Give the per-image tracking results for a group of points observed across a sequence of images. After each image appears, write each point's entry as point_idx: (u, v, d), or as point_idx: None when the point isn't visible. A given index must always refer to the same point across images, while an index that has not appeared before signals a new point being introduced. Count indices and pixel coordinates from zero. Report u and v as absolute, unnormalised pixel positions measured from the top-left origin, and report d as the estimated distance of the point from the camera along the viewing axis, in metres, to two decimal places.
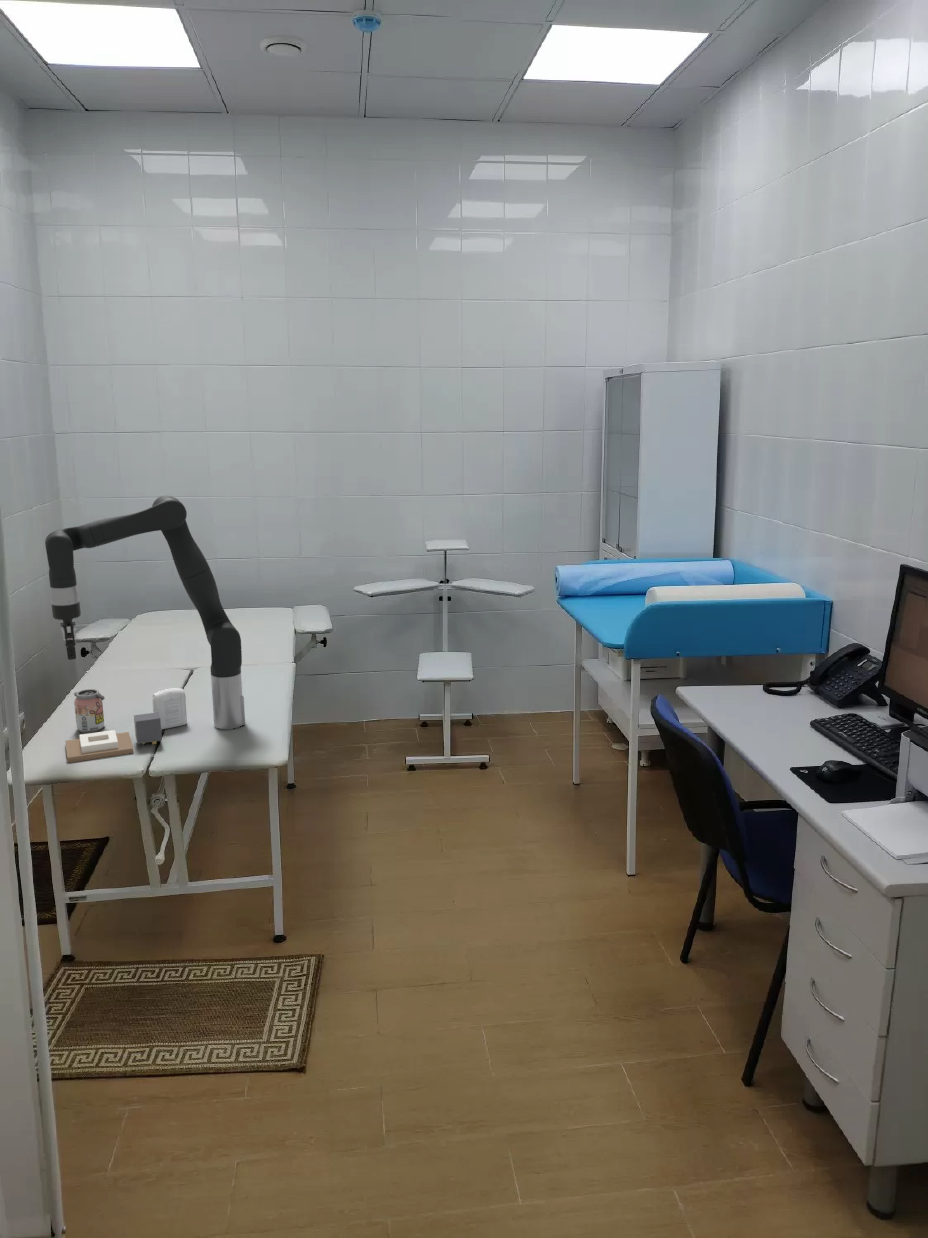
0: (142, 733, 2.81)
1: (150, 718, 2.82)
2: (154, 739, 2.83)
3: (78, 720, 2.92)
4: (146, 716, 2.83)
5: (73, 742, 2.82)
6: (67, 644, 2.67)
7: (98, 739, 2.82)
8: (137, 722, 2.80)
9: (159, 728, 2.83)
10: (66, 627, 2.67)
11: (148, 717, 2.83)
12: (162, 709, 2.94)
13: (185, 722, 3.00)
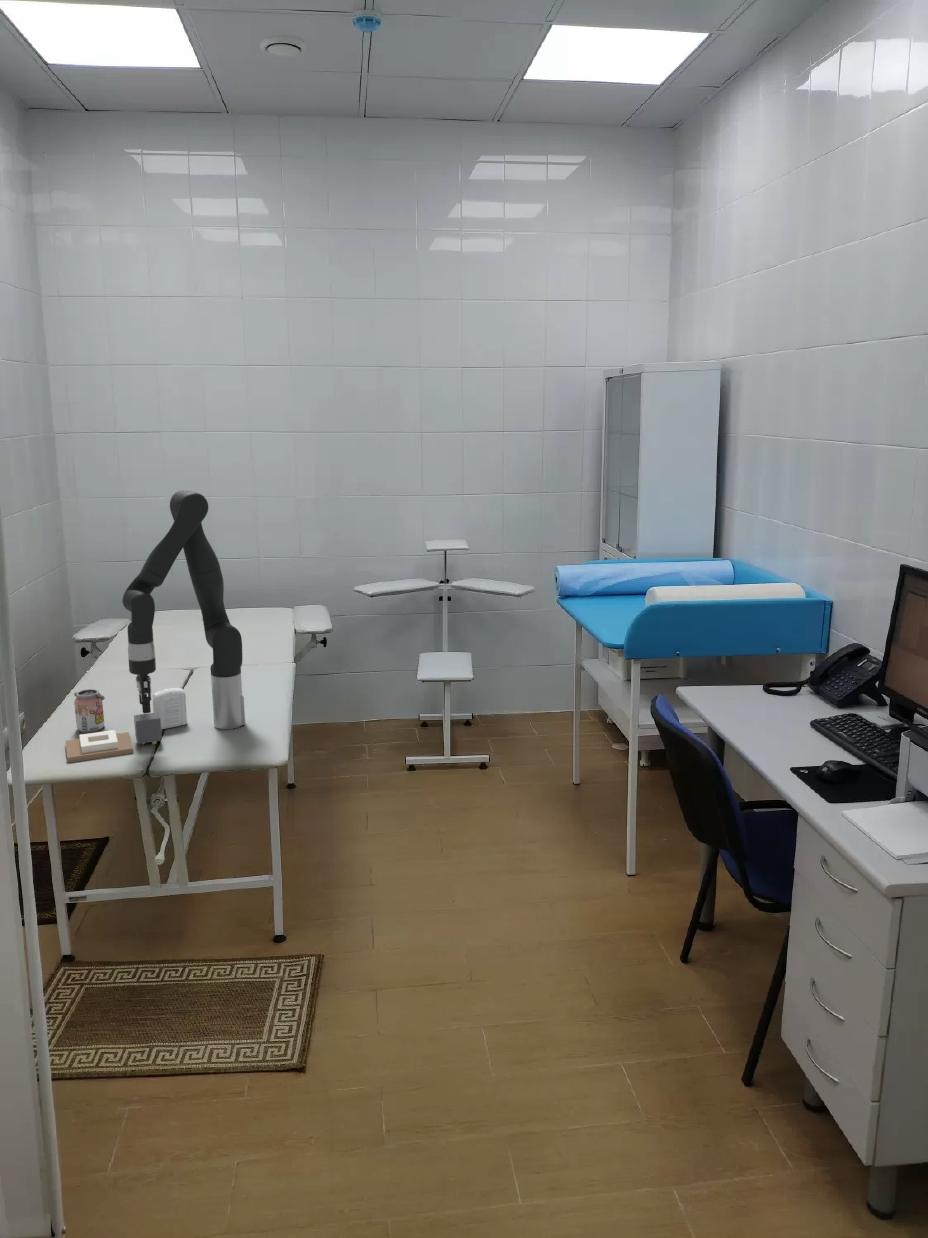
0: (142, 733, 2.81)
1: (150, 718, 2.82)
2: (154, 739, 2.83)
3: (78, 720, 2.92)
4: (146, 716, 2.83)
5: (73, 742, 2.82)
6: (143, 699, 2.74)
7: (98, 739, 2.82)
8: (137, 722, 2.80)
9: (159, 728, 2.83)
10: (143, 682, 2.74)
11: (148, 717, 2.83)
12: (162, 709, 2.94)
13: (185, 722, 3.00)
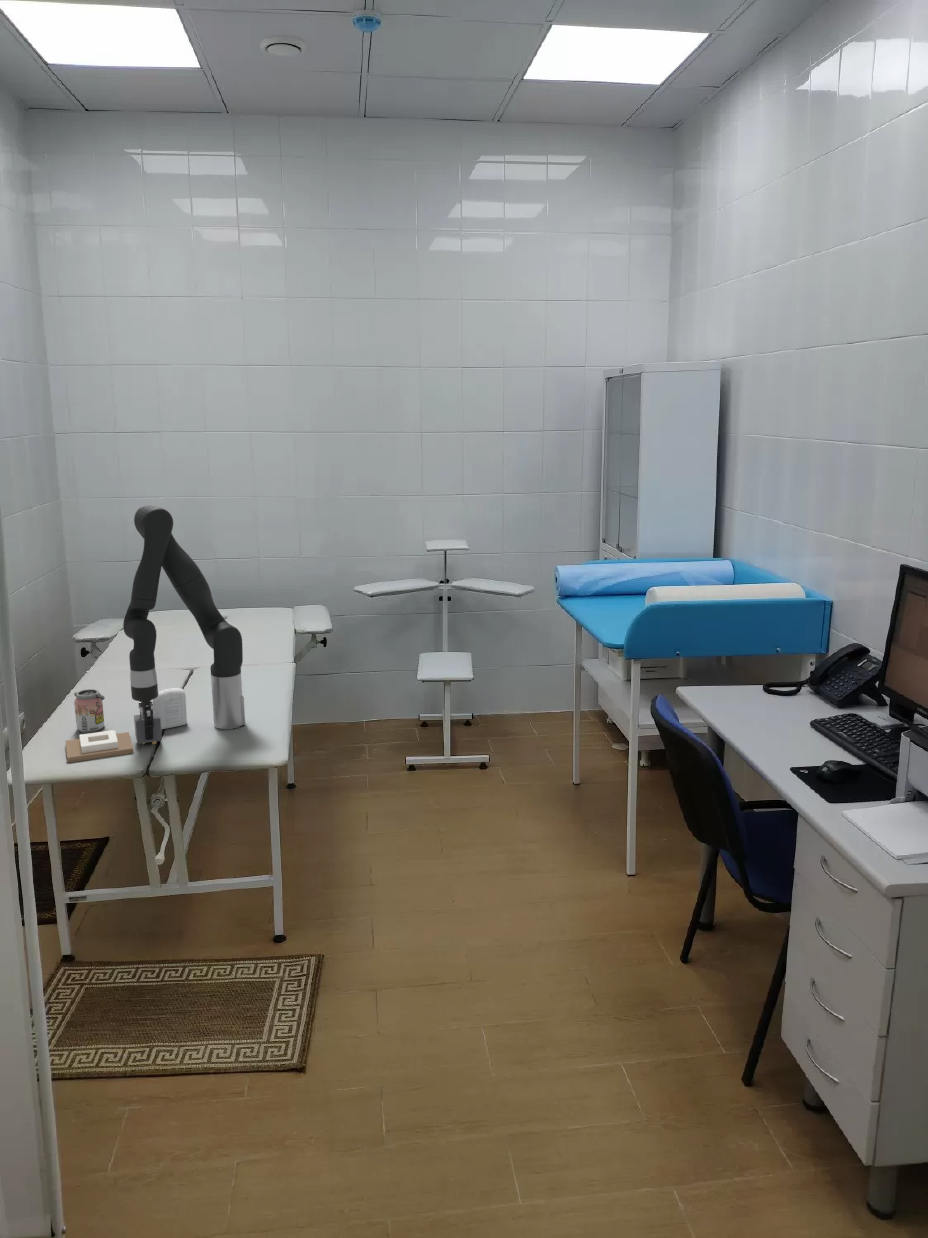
0: (142, 733, 2.81)
1: None
2: (154, 739, 2.83)
3: (78, 720, 2.92)
4: None
5: (73, 742, 2.82)
6: (146, 726, 2.78)
7: (98, 739, 2.82)
8: (137, 722, 2.80)
9: (159, 728, 2.83)
10: (146, 712, 2.76)
11: None
12: (162, 709, 2.94)
13: (185, 722, 3.00)
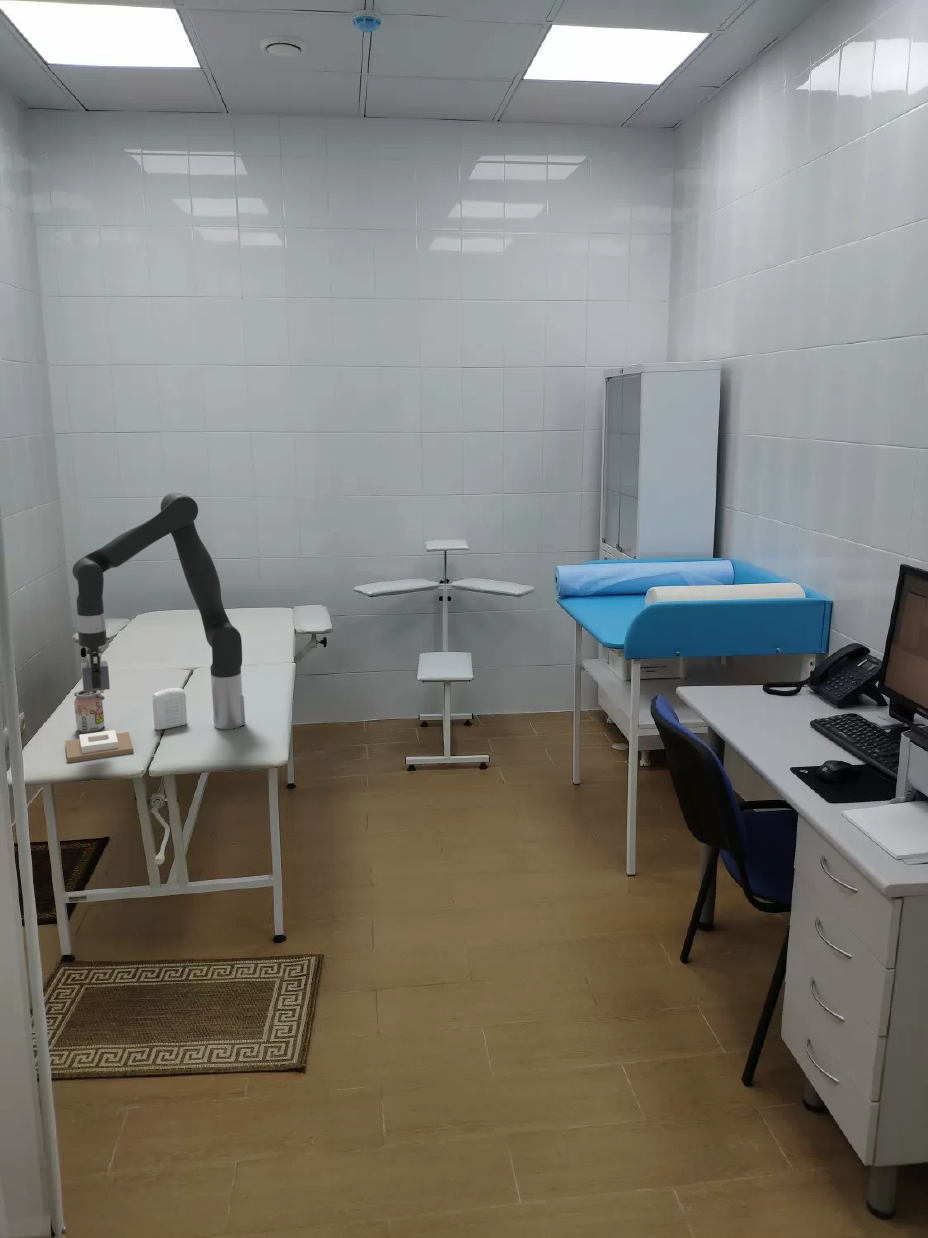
0: (89, 681, 2.72)
1: None
2: (101, 688, 2.74)
3: (78, 720, 2.92)
4: None
5: (73, 742, 2.82)
6: (93, 673, 2.69)
7: (98, 739, 2.82)
8: (84, 669, 2.70)
9: (107, 676, 2.74)
10: (93, 658, 2.67)
11: None
12: (162, 709, 2.94)
13: (185, 722, 3.00)
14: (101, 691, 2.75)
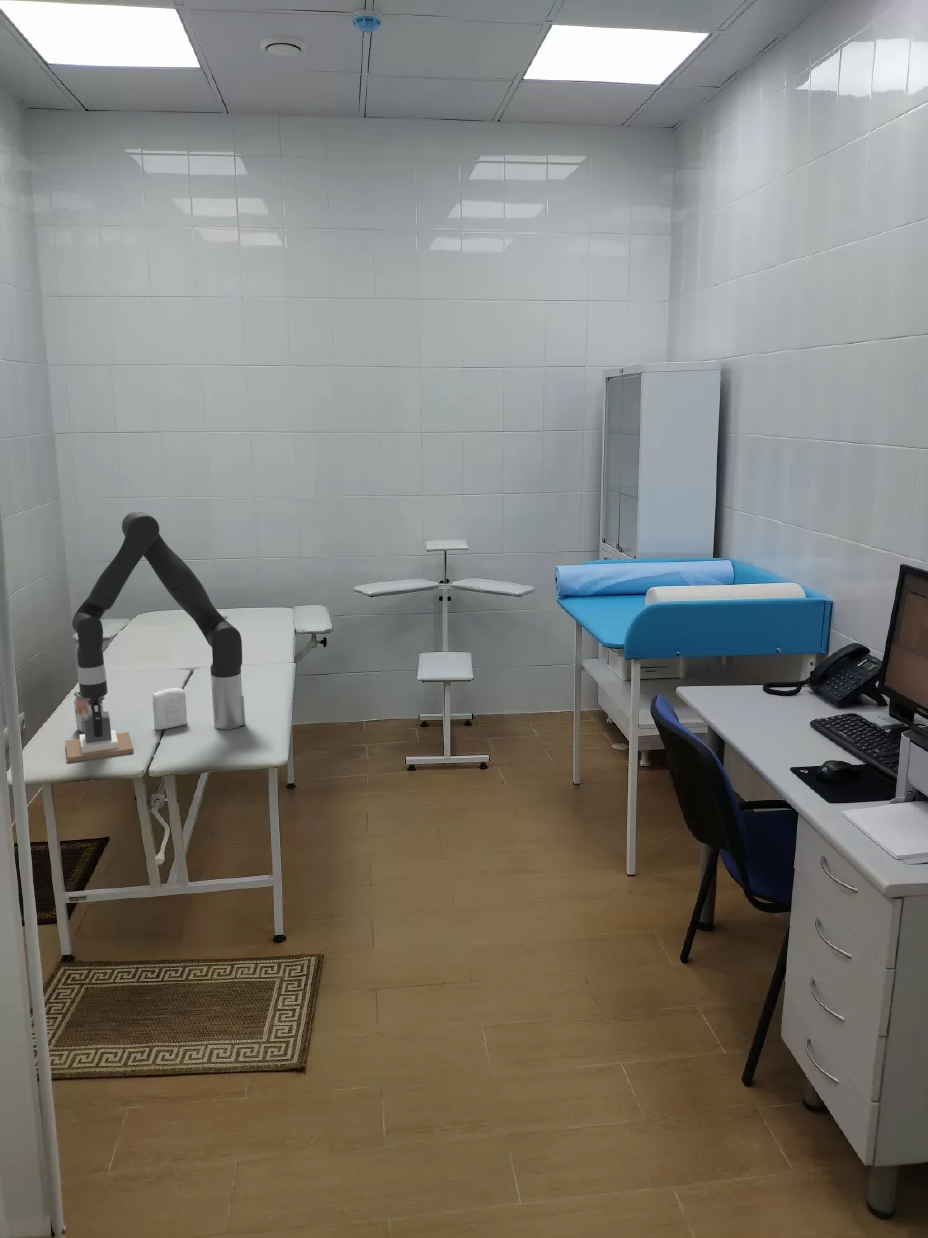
0: (91, 732, 2.76)
1: (99, 718, 2.76)
2: (103, 739, 2.78)
3: (78, 720, 2.92)
4: None
5: (73, 742, 2.82)
6: (94, 723, 2.71)
7: None
8: (85, 721, 2.74)
9: (108, 727, 2.77)
10: (94, 706, 2.70)
11: None
12: (162, 709, 2.94)
13: (185, 722, 3.00)
14: None
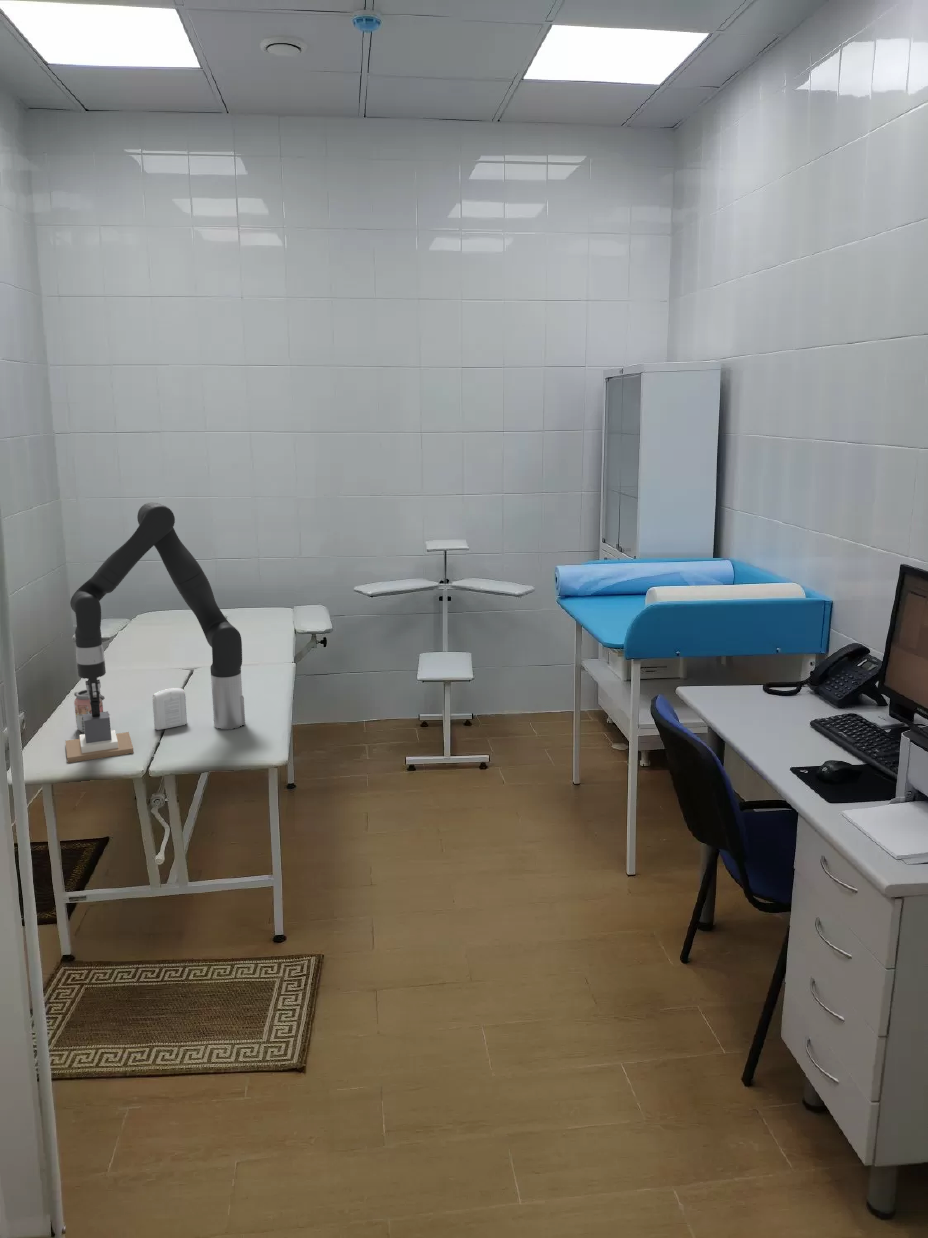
0: (91, 732, 2.76)
1: (99, 718, 2.76)
2: (103, 739, 2.78)
3: (78, 720, 2.92)
4: None
5: (73, 742, 2.82)
6: (92, 703, 2.73)
7: None
8: (85, 721, 2.74)
9: (108, 727, 2.77)
10: (92, 694, 2.70)
11: None
12: (162, 709, 2.94)
13: (185, 722, 3.00)
14: None
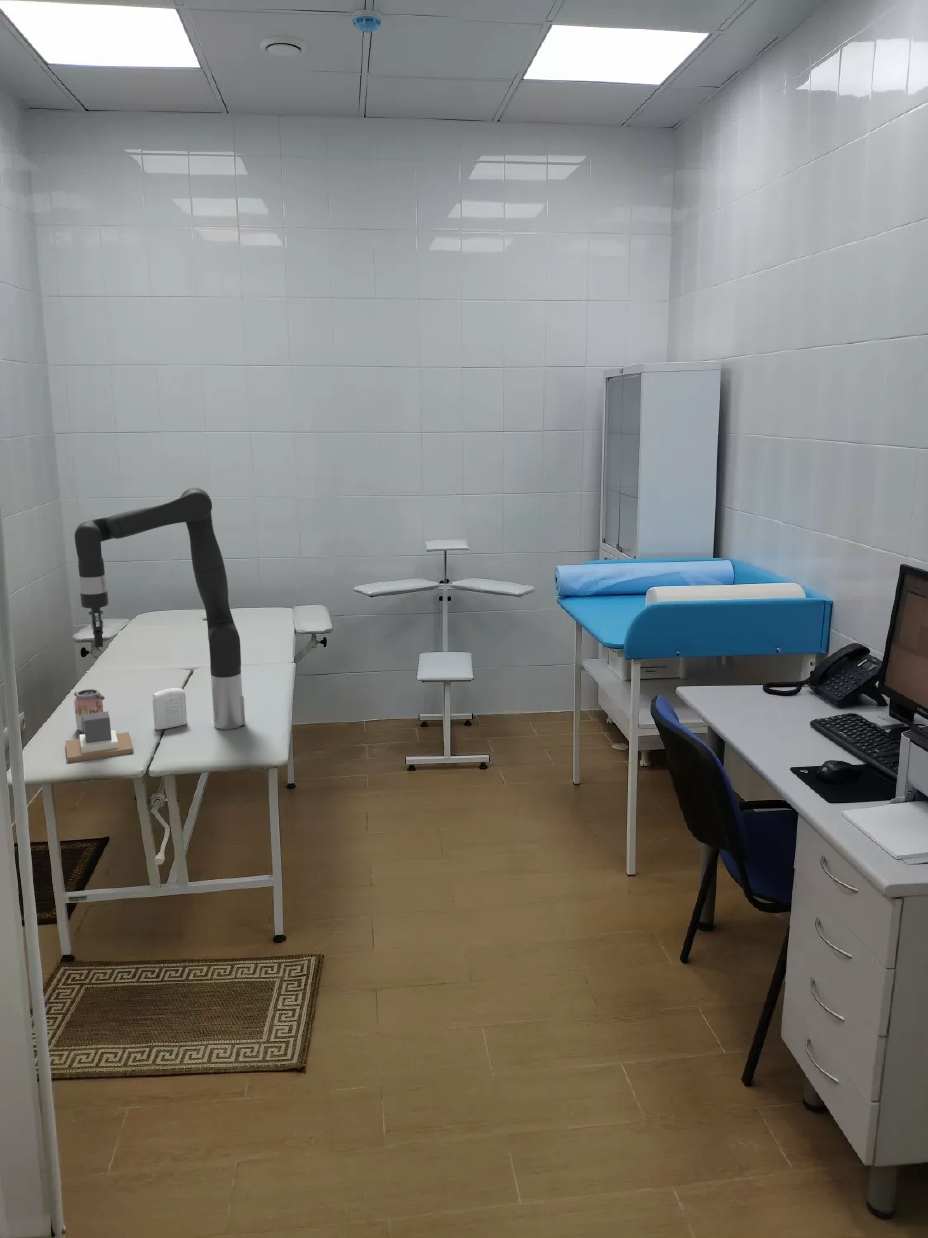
0: (91, 732, 2.76)
1: (99, 718, 2.76)
2: (103, 739, 2.78)
3: (78, 720, 2.92)
4: (95, 715, 2.78)
5: (73, 742, 2.82)
6: None
7: None
8: (85, 721, 2.74)
9: (108, 727, 2.77)
10: (95, 623, 2.74)
11: (97, 716, 2.77)
12: (162, 709, 2.94)
13: (185, 722, 3.00)
14: None
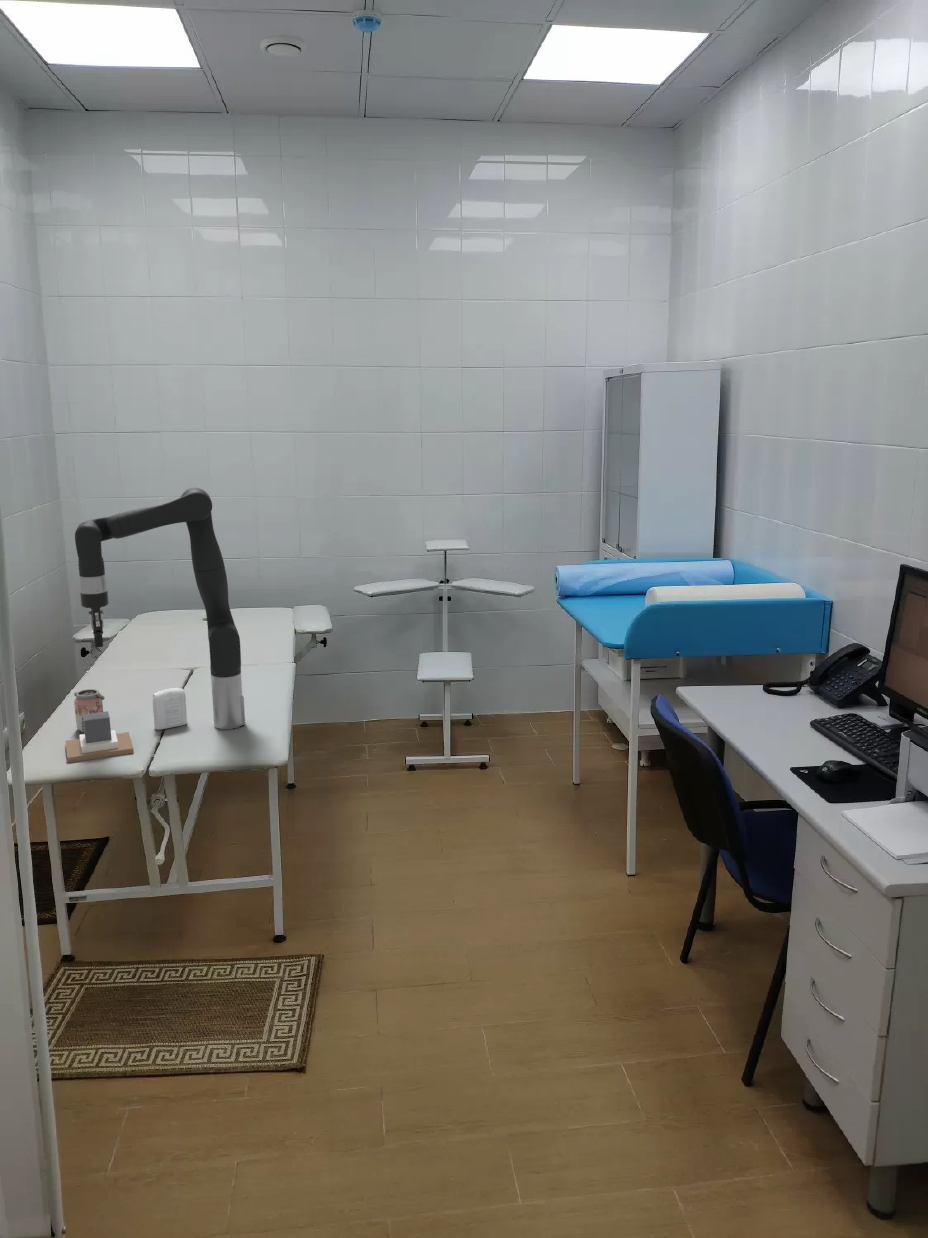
0: (91, 732, 2.76)
1: (99, 718, 2.76)
2: (103, 739, 2.78)
3: (78, 720, 2.92)
4: (95, 715, 2.78)
5: (73, 742, 2.82)
6: None
7: None
8: (85, 721, 2.74)
9: (108, 727, 2.77)
10: (95, 623, 2.74)
11: (97, 716, 2.77)
12: (162, 709, 2.94)
13: (185, 722, 3.00)
14: None
